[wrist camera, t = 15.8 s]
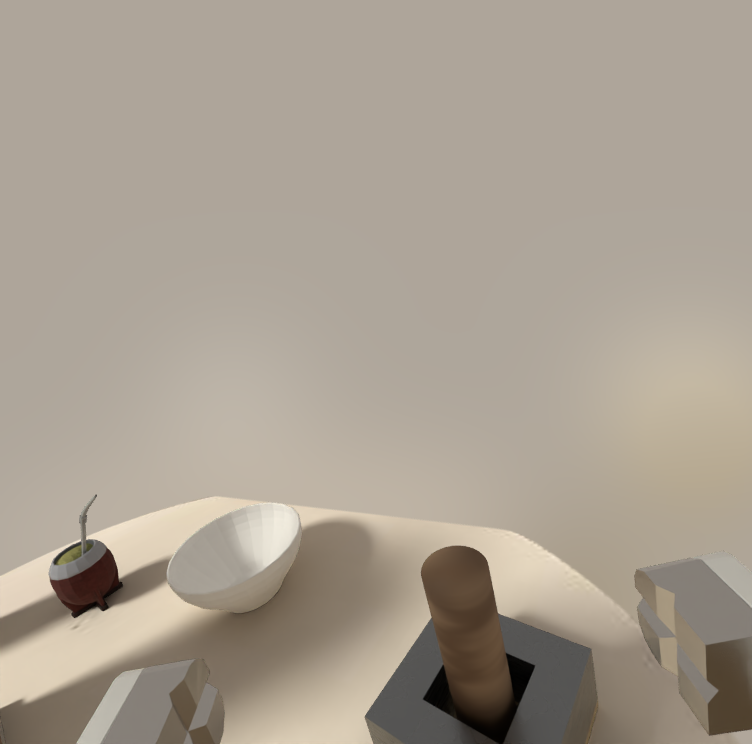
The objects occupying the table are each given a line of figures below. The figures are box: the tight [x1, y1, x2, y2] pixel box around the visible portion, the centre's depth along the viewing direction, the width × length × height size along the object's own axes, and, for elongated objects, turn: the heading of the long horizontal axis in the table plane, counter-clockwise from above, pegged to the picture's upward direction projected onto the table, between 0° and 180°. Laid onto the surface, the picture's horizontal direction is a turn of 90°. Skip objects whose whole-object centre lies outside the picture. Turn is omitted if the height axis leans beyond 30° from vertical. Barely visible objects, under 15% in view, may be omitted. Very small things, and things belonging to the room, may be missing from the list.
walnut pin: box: [421, 546, 517, 744], centre depth 31 cm, size 4×4×15 cm
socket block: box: [365, 614, 598, 744], centre depth 32 cm, size 12×12×6 cm
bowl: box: [166, 502, 302, 613], centre depth 54 cm, size 16×16×7 cm
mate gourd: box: [49, 495, 123, 618], centre depth 58 cm, size 7×8×15 cm
